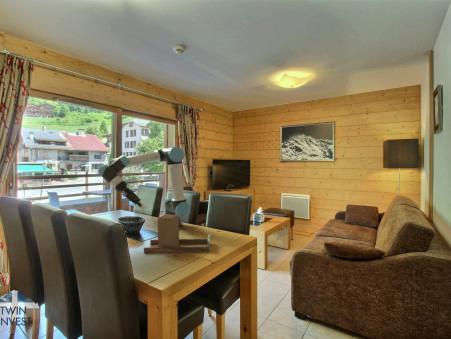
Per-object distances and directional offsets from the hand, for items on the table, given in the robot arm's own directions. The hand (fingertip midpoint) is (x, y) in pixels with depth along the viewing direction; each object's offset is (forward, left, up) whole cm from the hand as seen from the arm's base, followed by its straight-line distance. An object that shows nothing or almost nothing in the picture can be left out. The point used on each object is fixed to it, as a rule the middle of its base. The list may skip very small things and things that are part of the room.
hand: (145, 209), depth 159 cm
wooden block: (+12, +17, -22) cm, 30 cm away
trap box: (+12, +23, -22) cm, 34 cm away
